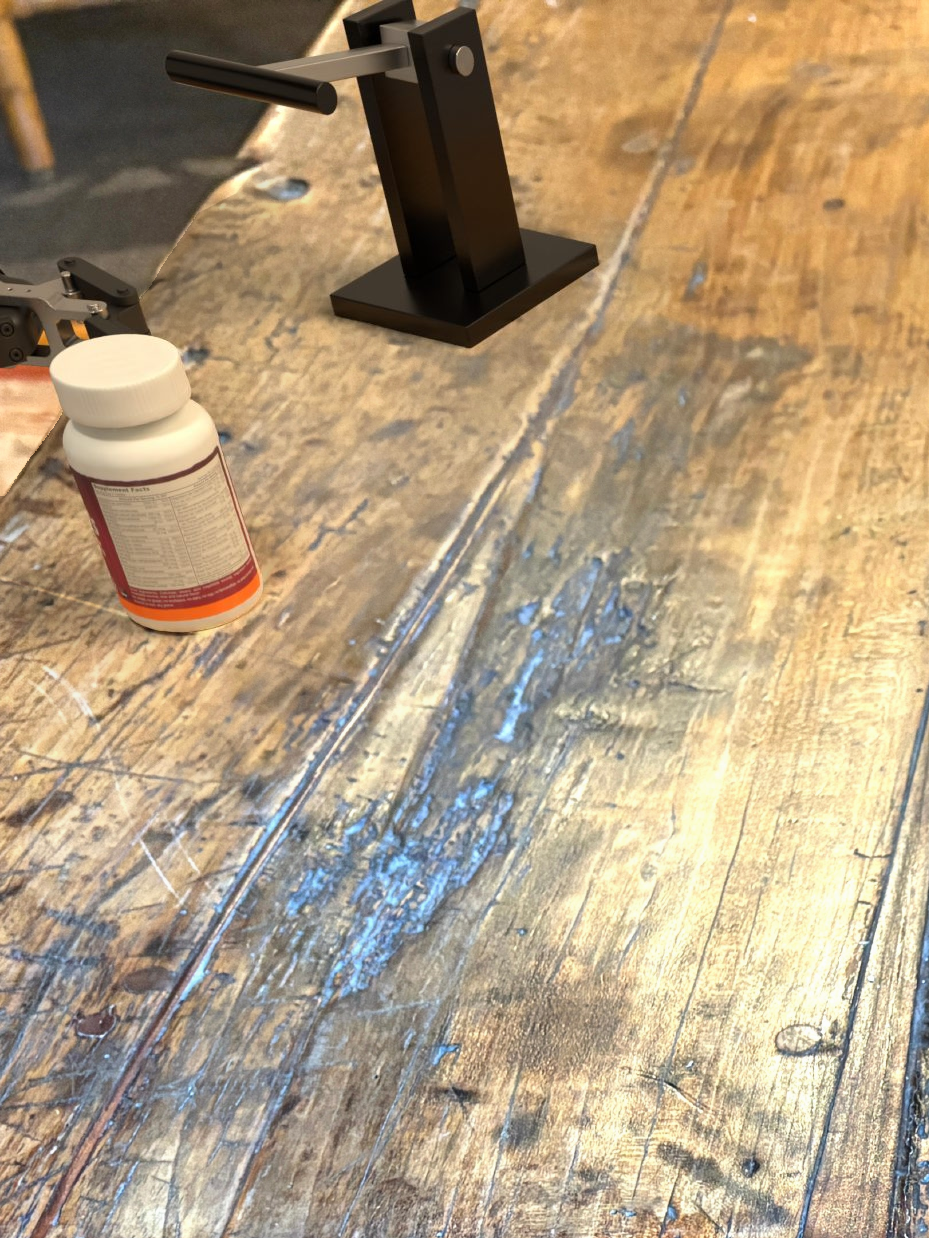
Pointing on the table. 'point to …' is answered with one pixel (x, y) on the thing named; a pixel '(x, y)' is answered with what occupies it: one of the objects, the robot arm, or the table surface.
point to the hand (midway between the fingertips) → (48, 394)
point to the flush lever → (299, 72)
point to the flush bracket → (448, 193)
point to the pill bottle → (155, 484)
